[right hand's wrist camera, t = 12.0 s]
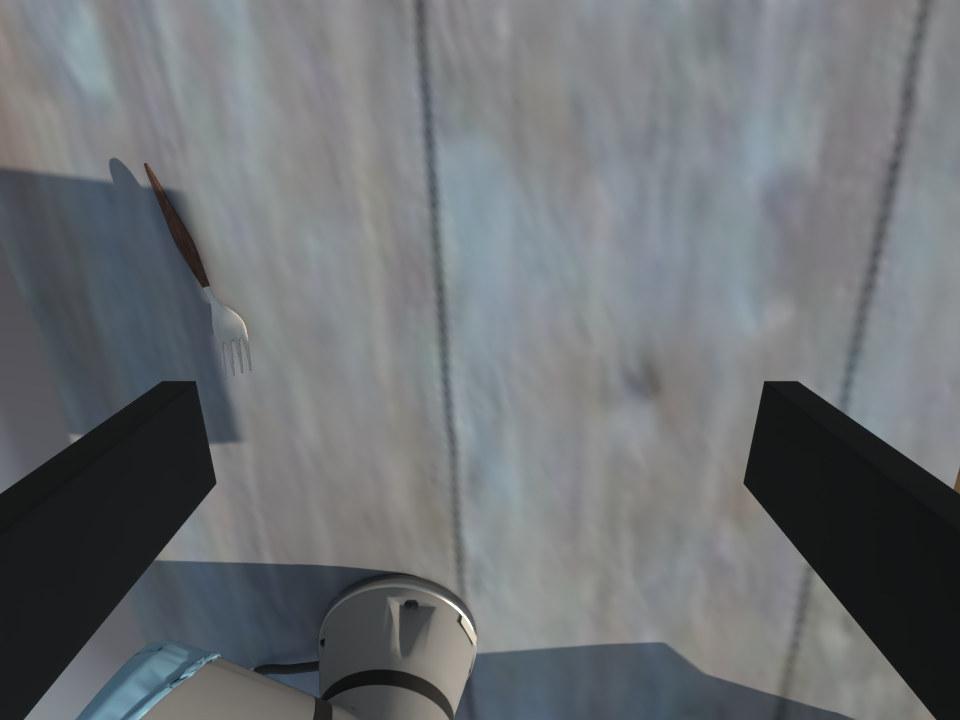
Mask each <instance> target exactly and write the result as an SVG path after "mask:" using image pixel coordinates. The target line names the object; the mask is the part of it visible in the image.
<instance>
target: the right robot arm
mask: <svg viewBox="0 0 960 720" xmlns="http://www.w3.org/2000/svg"><path fill="white" fill-rule="evenodd" d="M215 485H216V478H215V473H214V468H213V463H212V459H211V454H210V449H209V444H208V439H207V434H206V429H205V425H204V420H203V415H202V410H201V405H200V400H199V395H198V390H197V386H196V381H162V382H161V383H159V384H158V385H156V386H155V387H153V388H152V389H151V390H149V391H148V392H146V393H145V394H143V395H142V396H141V397H139V398H138V399H136V400H135V401H133V402H132V403H130V404H129V405H128V406H126V407H125V408H123V409H122V410H120V411H119V412H118V413H116V414H115V415H113V416H112V417H110V418H109V419H107V420H106V421H105V422H103V423H102V424H100V425H99V426H97V427H96V428H94V429H93V430H92V431H90V432H89V433H87V434H86V435H84V436H83V437H82V438H80V439H79V440H77V441H76V442H74V443H73V444H71V445H70V446H69V447H67V448H66V449H64V450H63V451H61V452H60V453H59V454H57V455H56V456H54V457H53V458H51V459H50V460H48V461H47V462H46V463H44V464H43V465H41V466H40V467H38V468H37V469H36V470H34V471H33V472H31V473H30V474H28V475H27V476H26V477H24V478H23V479H21V480H20V481H18V482H17V483H15V484H14V485H13V486H11V487H10V488H8V489H7V490H5V491H4V492H3V493H1V494H0V720H24V719H25V717H26V716H27V715H28V714H29V713H30V711H31V710H32V709H33V708H34V706H35V705H36V704H37V703H38V701H39V700H40V699H41V698H42V697H43V695H44V694H45V693H46V692H47V690H48V689H49V688H50V687H51V686H52V684H53V683H54V682H55V681H56V679H57V678H58V677H59V676H60V675H61V673H62V672H63V671H64V670H65V668H66V667H67V666H68V665H69V663H70V662H71V661H72V660H73V659H74V657H75V656H76V655H77V654H78V652H79V651H80V650H81V649H82V648H83V646H84V645H85V644H86V643H87V641H88V640H89V639H90V638H91V637H92V635H93V634H94V633H95V632H96V630H97V629H98V628H99V627H100V625H101V624H102V623H103V622H104V621H105V619H106V618H107V617H108V616H109V614H110V613H111V612H112V611H113V610H114V608H115V607H116V606H117V605H118V603H119V602H120V601H121V600H122V599H123V597H124V596H125V595H126V594H127V592H128V591H129V590H130V589H131V588H132V586H133V585H134V584H135V583H136V581H137V580H138V579H139V578H140V576H141V575H142V574H143V573H144V572H145V570H146V569H147V568H148V567H149V565H150V564H151V563H152V562H153V561H154V559H155V558H156V557H157V556H158V554H159V553H160V552H161V551H162V550H163V548H164V547H165V546H166V545H167V543H168V542H169V541H170V540H171V538H172V537H173V536H174V535H175V534H176V532H177V531H178V530H179V529H180V527H181V526H182V525H183V524H184V523H185V521H186V520H187V519H188V518H189V516H190V515H191V514H192V513H193V512H194V510H195V509H196V508H197V507H198V505H199V504H200V503H201V502H202V501H203V499H204V498H205V497H206V496H207V494H208V493H209V492H210V491H211V489H212V488H213V487H214V486H215ZM744 485H745V486H746V487H747V488H748V489H749V491H750V492H751V493H752V494H753V496H754V497H755V498H756V499H757V501H758V502H759V503H760V504H761V505H762V507H763V508H764V509H765V510H766V512H767V513H768V514H769V515H770V516H771V518H772V519H773V520H774V521H775V523H776V524H777V525H778V526H779V527H780V529H781V530H782V531H783V532H784V534H785V535H786V536H787V537H788V538H789V540H790V541H791V542H792V543H793V545H794V546H795V547H796V548H797V550H798V551H799V552H800V553H801V554H802V556H803V557H804V558H805V559H806V561H807V562H808V563H809V564H810V565H811V567H812V568H813V569H814V570H815V572H816V573H817V574H818V575H819V576H820V578H821V579H822V580H823V581H824V583H825V584H826V585H827V586H828V588H829V589H830V590H831V591H832V592H833V594H834V595H835V596H836V597H837V599H838V600H839V601H840V602H841V603H842V605H843V606H844V607H845V608H846V610H847V611H848V612H849V613H850V614H851V616H852V617H853V618H854V619H855V621H856V622H857V623H858V624H859V626H860V627H861V628H862V629H863V630H864V632H865V633H866V634H867V635H868V637H869V638H870V639H871V640H872V641H873V643H874V644H875V645H876V646H877V648H878V649H879V650H880V651H881V652H882V654H883V655H884V656H885V657H886V659H887V660H888V661H889V662H890V664H891V665H892V666H893V667H894V668H895V670H896V671H897V672H898V673H899V675H900V676H901V677H902V678H903V679H904V681H905V682H906V683H907V684H908V686H909V687H910V688H911V689H912V690H913V692H914V693H915V694H916V695H917V697H918V698H919V699H920V700H921V701H922V703H923V704H924V705H925V706H926V708H927V709H928V710H929V711H930V713H931V714H932V715H933V716H934V717H935V719H936V720H960V494H959V493H958V492H956V491H955V490H953V489H952V488H950V487H949V486H947V485H946V484H945V483H943V482H942V481H940V480H939V479H937V478H936V477H935V476H933V475H932V474H930V473H929V472H927V471H926V470H924V469H923V468H922V467H920V466H919V465H917V464H916V463H914V462H913V461H912V460H910V459H909V458H907V457H906V456H904V455H903V454H901V453H900V452H899V451H897V450H896V449H894V448H893V447H891V446H890V445H889V444H887V443H886V442H884V441H883V440H881V439H880V438H878V437H877V436H876V435H874V434H873V433H871V432H870V431H868V430H867V429H866V428H864V427H863V426H861V425H860V424H858V423H857V422H855V421H854V420H853V419H851V418H850V417H848V416H847V415H845V414H844V413H842V412H841V411H840V410H838V409H837V408H835V407H834V406H832V405H831V404H830V403H828V402H827V401H825V400H824V399H822V398H821V397H819V396H818V395H817V394H815V393H814V392H812V391H811V390H809V389H808V388H807V387H805V386H804V385H802V384H801V383H799V382H798V381H764V386H763V390H762V395H761V400H760V405H759V410H758V415H757V420H756V425H755V429H754V434H753V439H752V444H751V449H750V454H749V459H748V463H747V468H746V473H745V478H744ZM476 640H477V636H476V626H475V622H474V620H473V617H472V615H471V613H470V611H469V610H468V608H467V607H466V605H465V604H464V603H463V602H462V601H461V600H460V599H459V598H458V597H457V596H456V595H455V594H453V593H452V592H451V591H449V590H448V589H446V588H445V587H443V586H441V585H439V584H437V583H435V582H432V581H429V580H426V579H423V578H419V577H415V576H409V575H383V576H377V577H372V578H369V579H366V580H363V581H360V582H358V583H356V584H354V585H352V586H350V587H348V588H347V589H345V590H344V591H343V592H342V593H340V594H339V595H338V596H337V597H336V598H335V599H334V601H333V602H332V603H331V605H330V606H329V608H328V610H327V612H326V615H325V618H324V621H323V623H322V626H321V630H320V633H319V643H318V655H319V661H316V662H308V663H300V664H291V665H279V664H268V665H262V666H259V667H257V668H255V669H254V670H253V671H252V670H250V669H247V668H245V667H243V666H240V665H238V664H236V663H234V662H231V661H229V660H227V659H224V658H222V657H221V654H219V653H217V652H212V653H209V652H206V651H203V650H200V649H197V648H194V647H191V646H187V645H185V644H182V643H179V642H176V641H171V640H165V641H159V642H155V643H153V644H150V645H148V646H147V647H145V648H143V649H142V650H140V651H139V652H138V653H137V654H135V655H134V656H133V657H132V658H131V659H130V660H129V661H128V662H127V663H126V664H125V665H124V666H123V667H122V668H121V669H120V670H119V671H118V672H117V673H116V674H115V675H114V676H113V677H112V678H111V679H110V680H109V682H108V683H107V684H106V685H105V686H104V687H103V688H102V689H101V690H100V692H99V693H98V694H97V695H96V696H95V697H94V698H93V700H92V701H91V702H90V703H89V704H88V705H87V707H86V708H85V709H84V710H83V711H82V712H81V714H80V715H79V716H78V717H77V718H76V720H454V717H455V713H456V710H457V707H458V704H459V701H460V698H461V695H462V692H463V689H464V686H465V683H466V681H467V680H468V678H469V676H470V673H471V671H472V668H473V665H474V661H475V657H476ZM312 671H319V686H320V699H319V698H317V697H314V696H313V695H311V694H308V693H306V692H303V691H301V690H298V689H296V688H293V687H291V686H289V685H286V684H284V683H281V682H279V681H276V680H274V679H271V678H269V677H267V676H264V674H295V673H304V672H312Z"/></svg>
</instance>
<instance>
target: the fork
mask: <svg viewBox="0 0 960 720" xmlns="http://www.w3.org/2000/svg"><path fill="white" fill-rule="evenodd" d="M144 166H145V169H146V172H147V174H148V177H149V180H150V182H151V185H152V187H153V190H154V192H155V194H156V197H157V199H158V202H159V204H160V206H161V209H162V211H163V214H164V217H165V219H166V222H167V224H168V227H169V229H170V232H171V234H172V237H173V239H174V241H175V243H176V245H177V247H178V249H179V251H180V252H181V254H182V256H183V257H184V259H185V261H186V262H187V264H188V265H189V267H190V268H191V270H192V272H193V273H194V275H195V276H196V278H197V279H198V281H199V283H200V284H201V286H202V287H203V289H204V291H205V292H206V294H207V296H208V298H209V300H210V303H211V310H212V326H213V331H214V335H215V338H216V341H217V344H218V347H219V351H220V356H221V360H222V365H223V371H224V378H226V366H225V356H224V348H223V344H224V343H226V345H227V348H228V352H229V357H230V362H231V367H232V372H233V376H235V372H234V361H233V352H232V340H234V342H235V345H236V349H237V353H238V358H239V363H240V368H241V373H243V366H242V356H241V348H240V338H242V339H243V341H244V345H245V349H246V354H247V358H248V363H249V370H250V371H251V360H250V351H249V343H248V337H247V331H246V327H245V324H244V322H243V320H242V319H241V318H240V317H239V316H238V315H237V314H236V313H235V312H233V311H232V310H230V309H229V308H227V307H226V306H224V305H223V304H221V303H220V302H219V301H218V300H217V299H216V298H215V296H214V295H213V293H212V290H211V288H210V285H209V282H208V279H207V277H206V274H205V271H204V268H203V265H202V262H201V260H200V257H199V254H198V252H197V249H196V247H195V244H194V242H193V240H192V238H191V236H190V234H189V233H188V231H187V229H186V228H185V226H184V224H183V223H182V221H181V219H180V218H179V216H178V215H177V213H176V211H175V210H174V208H173V206H172V205H171V203H170V201H169V199H168V198H167V196H166V194H165V192H164V191H163V189H162V187H161V185H160V184H159V182H158V180H157V179H156V177H155V175H154V174H153V172H152V170H151V169H150V167H149V166H148V164H147V163H145V164H144Z"/></svg>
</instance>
